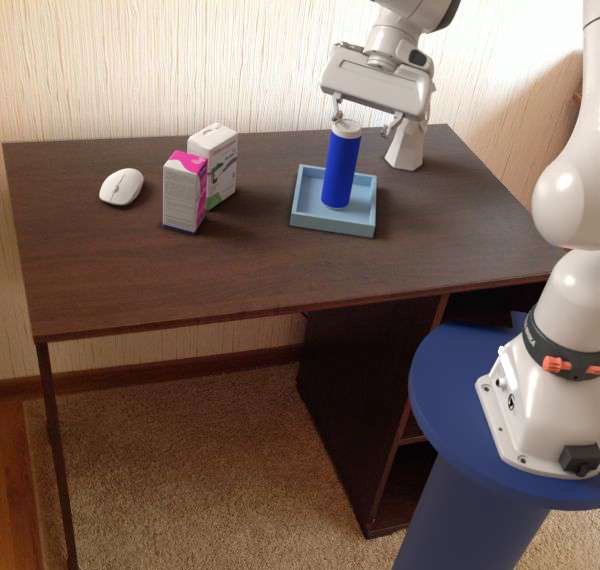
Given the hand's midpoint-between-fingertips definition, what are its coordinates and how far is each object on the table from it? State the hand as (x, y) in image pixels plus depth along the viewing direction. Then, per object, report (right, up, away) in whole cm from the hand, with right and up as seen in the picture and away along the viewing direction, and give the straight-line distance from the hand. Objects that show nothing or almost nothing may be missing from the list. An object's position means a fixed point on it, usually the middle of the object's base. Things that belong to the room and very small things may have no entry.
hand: (359, 129), depth 134 cm
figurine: (+10, -1, +16) cm, 19 cm away
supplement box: (-30, -18, -7) cm, 36 cm away
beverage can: (-4, -13, +2) cm, 14 cm away
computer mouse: (-42, -12, -3) cm, 44 cm away
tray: (-5, -13, +2) cm, 14 cm away
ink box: (-27, -12, 0) cm, 29 cm away
